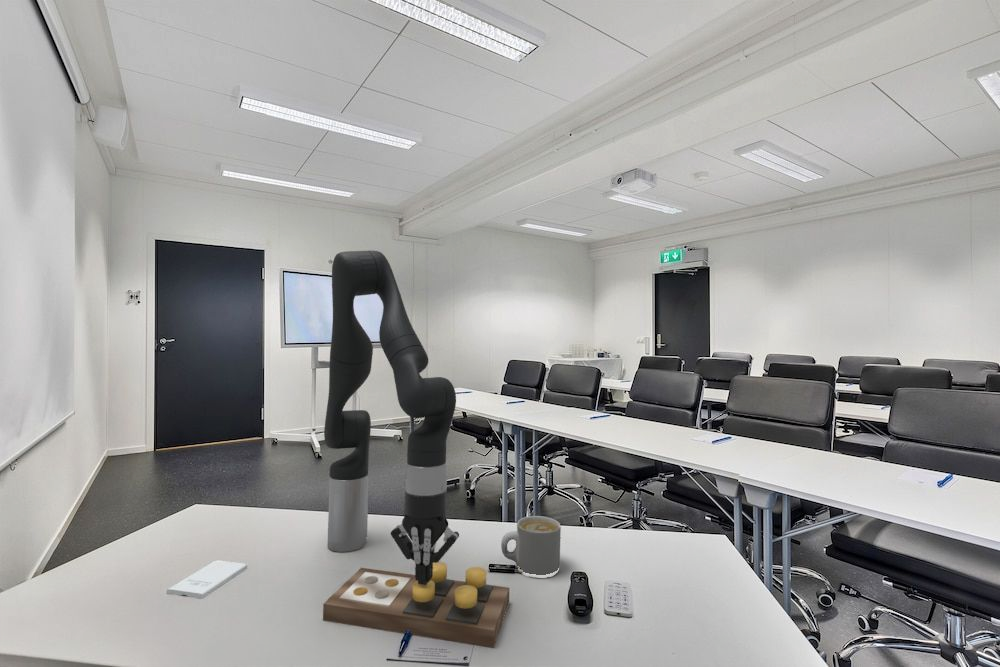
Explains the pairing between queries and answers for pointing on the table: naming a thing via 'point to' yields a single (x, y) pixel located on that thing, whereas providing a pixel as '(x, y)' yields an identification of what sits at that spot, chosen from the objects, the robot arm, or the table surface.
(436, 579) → the button
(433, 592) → the button
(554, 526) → the coffee mug
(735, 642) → the table surface
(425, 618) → the button board
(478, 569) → the button
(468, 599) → the button
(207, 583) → the external hard drive
